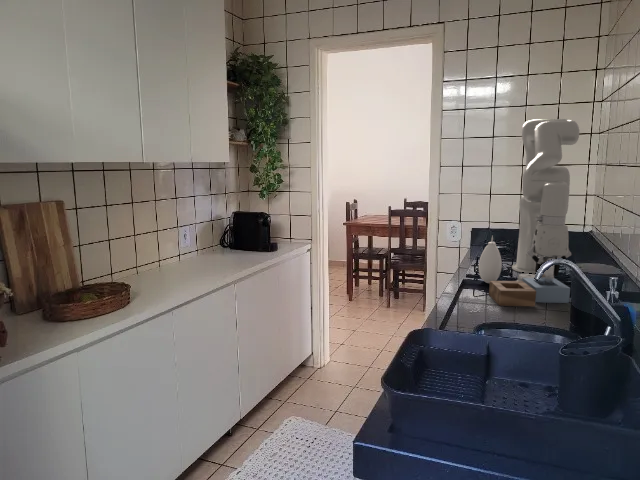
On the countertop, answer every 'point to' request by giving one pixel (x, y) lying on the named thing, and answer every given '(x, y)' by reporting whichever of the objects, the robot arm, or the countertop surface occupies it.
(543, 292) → the socket block
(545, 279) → the steel pin
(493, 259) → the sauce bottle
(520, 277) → the mechanical component
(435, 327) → the countertop surface
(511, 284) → the walnut mount
